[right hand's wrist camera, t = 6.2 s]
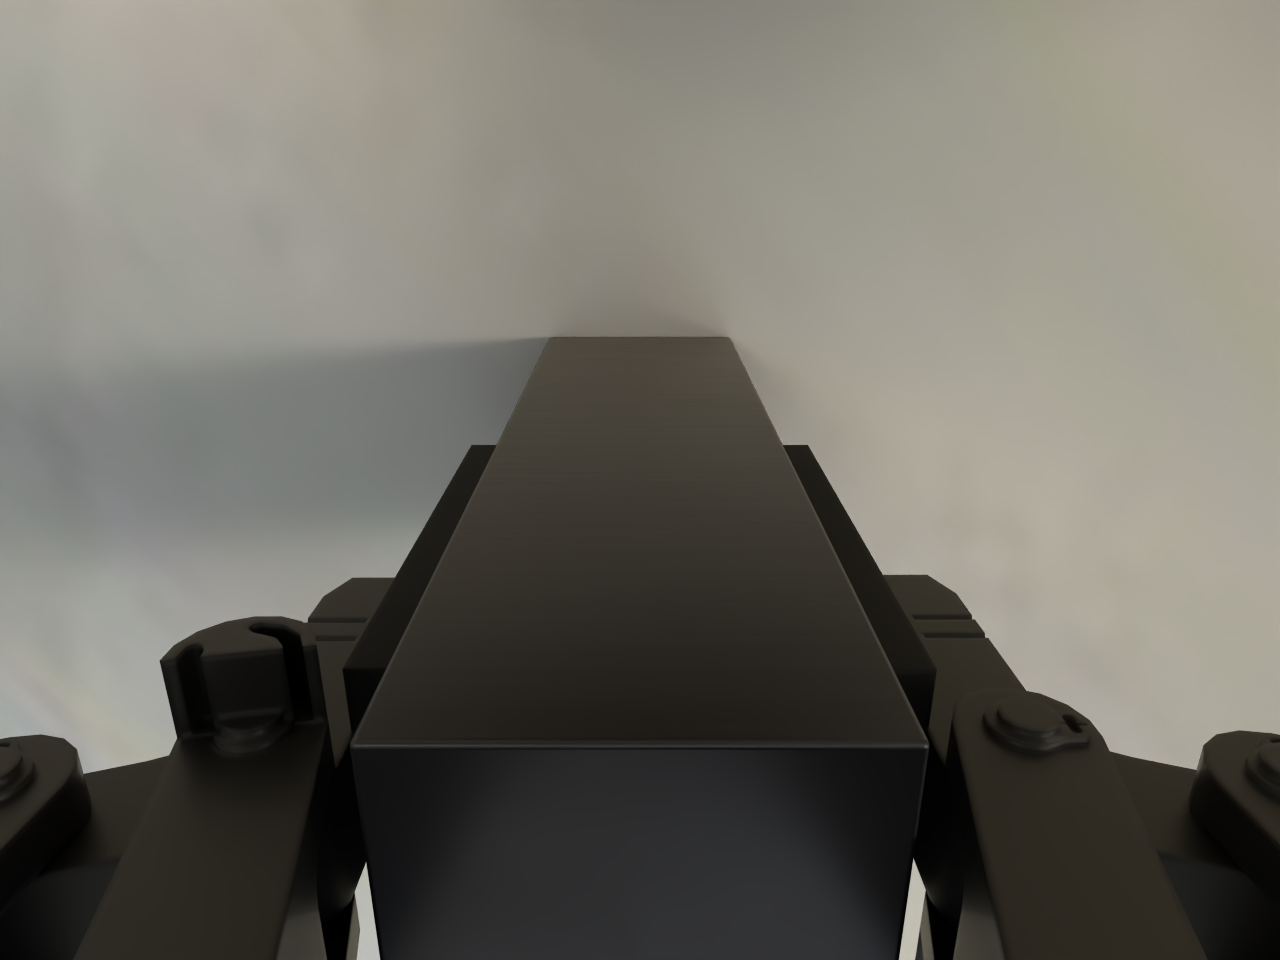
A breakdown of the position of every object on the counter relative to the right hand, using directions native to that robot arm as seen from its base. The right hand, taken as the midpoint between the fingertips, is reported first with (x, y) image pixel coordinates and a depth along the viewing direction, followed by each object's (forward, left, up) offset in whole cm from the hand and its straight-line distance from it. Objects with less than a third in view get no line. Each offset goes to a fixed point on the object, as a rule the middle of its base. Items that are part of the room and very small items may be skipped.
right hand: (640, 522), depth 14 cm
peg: (0, 0, -6) cm, 6 cm away
